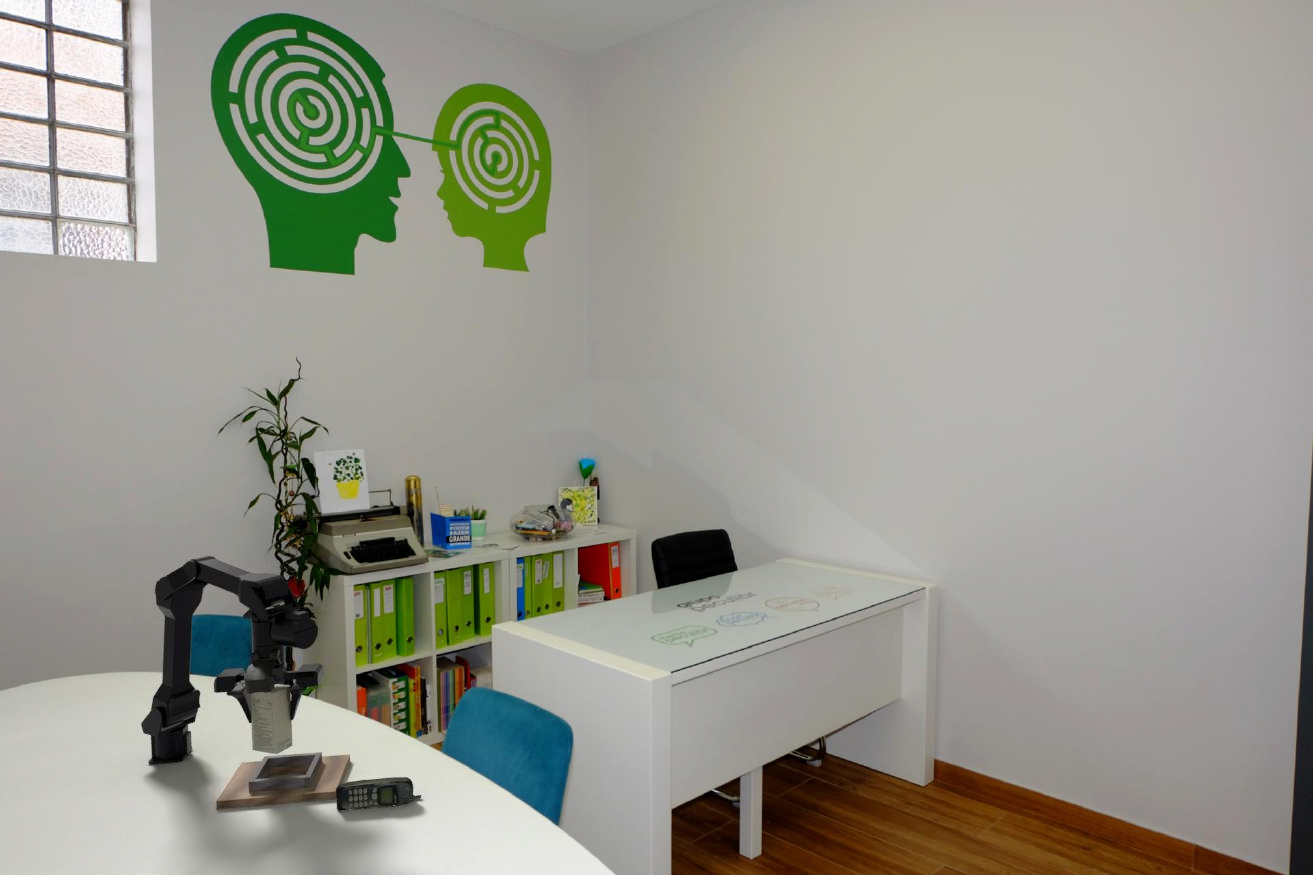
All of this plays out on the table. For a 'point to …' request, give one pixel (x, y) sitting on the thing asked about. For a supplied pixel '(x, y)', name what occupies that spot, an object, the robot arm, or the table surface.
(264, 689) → the robot arm
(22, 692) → the table surface
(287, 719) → the skincare box
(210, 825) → the table surface
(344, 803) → the mobile phone
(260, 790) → the serum stand
